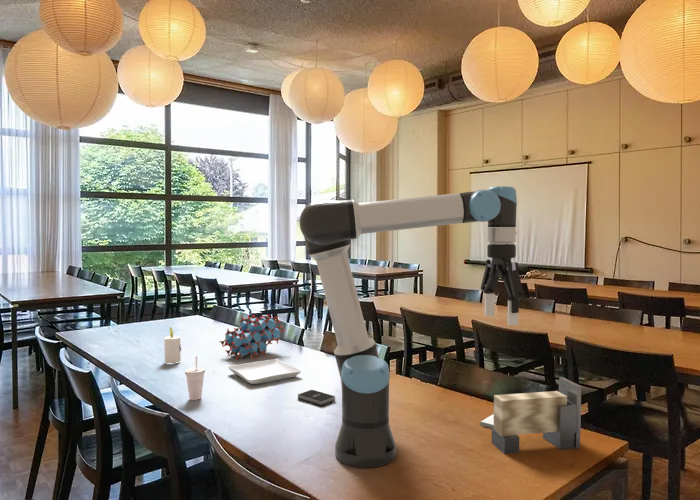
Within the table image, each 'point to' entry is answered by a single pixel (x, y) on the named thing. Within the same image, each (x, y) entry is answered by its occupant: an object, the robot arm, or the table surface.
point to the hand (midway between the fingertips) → (500, 320)
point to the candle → (172, 348)
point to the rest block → (505, 442)
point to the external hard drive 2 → (488, 422)
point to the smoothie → (195, 381)
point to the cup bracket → (567, 417)
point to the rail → (527, 412)
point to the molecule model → (252, 336)
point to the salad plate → (264, 371)
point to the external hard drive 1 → (316, 397)
